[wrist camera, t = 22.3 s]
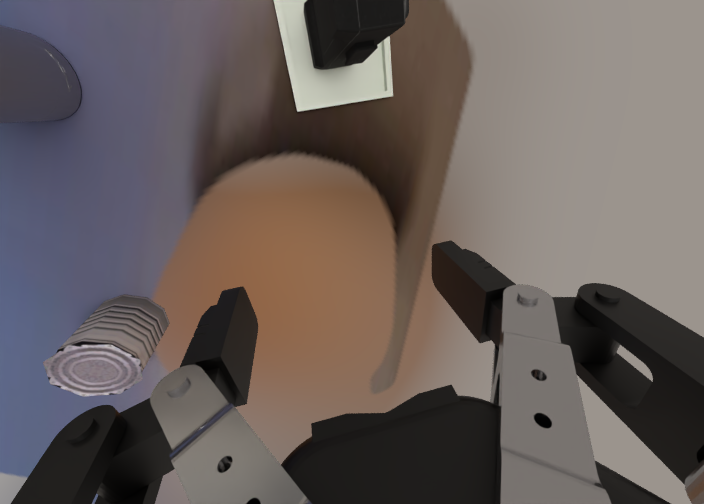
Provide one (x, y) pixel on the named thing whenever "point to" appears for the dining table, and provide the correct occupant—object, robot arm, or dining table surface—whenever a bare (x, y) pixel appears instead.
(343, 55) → the portable radio
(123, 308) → the can
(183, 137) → the dining table surface
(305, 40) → the sage tray
